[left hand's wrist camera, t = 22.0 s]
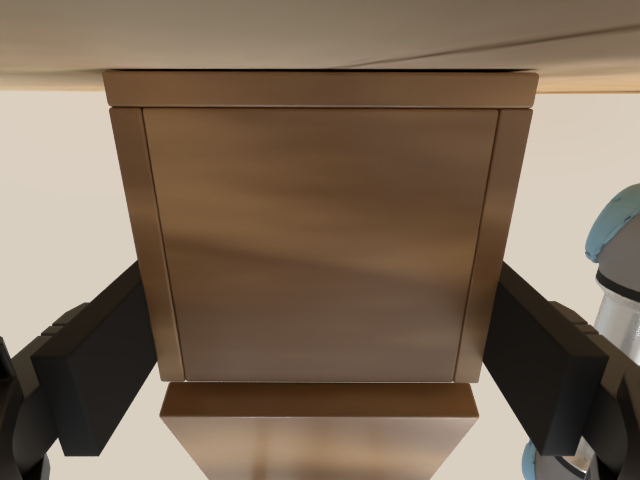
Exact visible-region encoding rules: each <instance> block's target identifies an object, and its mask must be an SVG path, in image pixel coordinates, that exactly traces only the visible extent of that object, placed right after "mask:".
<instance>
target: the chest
mask: <svg viewBox="0 0 640 480" xmlns="http://www.w3.org/2000/svg"><path fill="white" fill-rule="evenodd" d="M538 79H539V74H537V73H509V72H274V71H105V72H103V80H104V86H105V91H106V96H107V101H108V104H109V106H112V108H110V109H109V113H110V118H111V123H112V129H113V134H114V139H115V144H116V149H117V155H118V160H119V165H120V170H121V175H122V180H123V186H124V191H125V196H126V201H127V207H128V212H129V217H130V222H131V227H132V232H133V237H134V243H135V248H136V253H137V258H138V264H139V269H140V274H141V279H142V284H143V289H144V294H145V299H146V304H147V310H148V315H149V320H150V325H151V330H152V335H153V340H154V345H155V350H156V355H157V362H158V367H159V373H160V378H161V381H169V382H183V381H185V380H187V381H218V382H452V381H454V383H478V381H479V376H480V371H481V366H482V360H483V355H484V350H485V345H486V340H487V334H488V329H489V324H490V319H491V314H492V309H493V304H494V299H495V294H496V289H497V284H498V281H499V277H500V272H501V267H502V262H503V257H504V252H505V247H506V242H507V237H508V232H509V227H510V223H511V217H512V212H513V208H514V203H515V198H516V193H517V188H518V183H519V178H520V173H521V168H522V163H523V158H524V153H525V148H526V143H527V138H528V133H529V128H530V123H531V119H532V114H533V110H532V109H529V108H531V107H532V106H533V104H534V99H535V94H536V89H537V84H538Z"/></svg>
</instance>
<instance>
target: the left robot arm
mask: <svg viewBox="0 0 640 480" xmlns="http://www.w3.org/2000/svg"><path fill="white" fill-rule="evenodd" d="M482 361H483V363H484V364H485V366H486V368H487V369H488V371H489V373H490V374H491V376H492V377H493V379H494V381H495V382H496V384H497V386H498V387H499V389H500V391H501V392H502V394H503V396H504V397H505V399H506V400H507V402H508V404H509V405H510V407H511V409H512V410H513V412H514V413H515V415H516V417H517V418H518V420H519V422H520V423H521V425H522V426H523V428H524V430H525V431H526V433H527V435H528V436H529V438H530V440H531V441H532V443H533V444H534V446H535V448H536V449H537V451H538V453H539V454H540V456H575V454H576V451H577V448H578V445H579V442H580V440H581V437H582V436H583V438H584V439H585V440H586V442H587V443H588V444H589V445H590V447H591V448H592V449H593V451H594V454H593V456H592V459H591V462H590V464H589V467H588V470H587V472H586V475H585V478H584V480H640V366H639V365H637V364H636V363H635V362H634V361H633V360H631V359H630V358H629V357H628V356H627V355H626V354H624V353H623V352H622V351H621V350H620V349H618V348H617V347H616V346H615V345H614V344H612V343H611V342H610V341H609V340H608V339H607V338H605V337H604V336H603V335H599V332H598V331H597V330H596V329H595V328H594V327H592V326H591V325H588V323H587V322H586V321H585V320H584V319H583V318H582V317H581V316H579V315H578V314H577V313H576V312H575V311H573V310H571V309H569V308H567V307H565V306H563V305H562V304H560V303H558V302H556V301H547V300H546V299H545V298H544V297H543V296H542V295H541V294H539V293H538V292H537V291H536V290H535V289H534V288H533V287H532V286H531V285H529V284H528V283H527V282H526V281H525V280H524V279H523V278H522V277H521V276H519V275H518V274H517V273H516V272H515V271H514V270H513V269H512V268H511V267H509V266H508V265H507V264H506V263H505V262H504V261H503V262H502V267H501V272H500V277H499V281H498V284H497V289H496V294H495V299H494V304H493V309H492V314H491V319H490V324H489V329H488V334H487V340H486V345H485V350H484V355H483V360H482ZM156 362H157V355H156V350H155V345H154V340H153V335H152V330H151V325H150V320H149V315H148V310H147V304H146V299H145V294H144V289H143V284H142V279H141V274H140V269H139V264H138V260H137V261H136V262H135V263H134V264H132V265H131V266H130V267H129V268H128V269H127V270H126V271H125V272H123V273H122V274H121V275H120V276H119V277H118V278H117V279H116V280H115V281H113V282H112V283H111V284H110V285H109V286H108V287H107V288H106V289H105V290H103V291H102V292H101V293H100V294H99V295H98V296H97V297H96V298H95V299H93V300H92V301H91V302H90V303H83V304H81V305H79V306H77V307H75V308H73V309H71V310H69V311H67V312H66V313H64V314H63V315H62V316H61V317H60V318H59V319H57V320H56V321H55V322H54V323H53V324H52V326H49V327H48V328H47V329H46V330H44V331H43V332H42V333H41V336H37V337H36V338H35V339H34V340H33V341H32V342H30V343H29V344H28V345H27V346H26V347H25V348H23V349H22V350H21V351H20V352H19V353H18V354H16V355H15V356H14V357H13V358H12V359H11V358H10V356H9V353H8V351H7V348H6V345H5V343H4V340H3V338H2V337H1V336H0V480H49V474H50V464H49V459H48V456H47V454H46V452H47V451H48V450H49V448H50V447H51V446H52V444H53V443H54V442H55V440H56V439H57V438H59V441H60V444H61V447H62V450H63V452H64V455H65V456H99V455H100V453H101V452H102V450H103V449H104V447H105V445H106V444H107V442H108V441H109V439H110V437H111V436H112V434H113V432H114V431H115V429H116V427H117V426H118V424H119V423H120V421H121V419H122V418H123V416H124V414H125V413H126V411H127V410H128V408H129V406H130V405H131V403H132V401H133V400H134V398H135V396H136V395H137V393H138V392H139V390H140V388H141V387H142V385H143V383H144V382H145V380H146V378H147V377H148V375H149V374H150V372H151V370H152V369H153V367H154V365H155V364H156Z"/></svg>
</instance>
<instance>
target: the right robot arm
mask: <svg viewBox="0 0 640 480" xmlns="http://www.w3.org/2000/svg"><path fill="white" fill-rule="evenodd" d="M585 250H586V252H585V254H586V256H587V258H588V259H590V260H591V261H592V262H594V263H599V268H598V271H597V274H596V278H595V279H596V282H597V284H598V285H599V286H600V287H601V289H602V290H603V291H604V293H605V294H604V297H603V300H602V303H601V306H600V309H599V312H598V315H597V318H596V321H595V324H594V328H595V329H596V330H597V331H598V332H599V335H603V336H604V337H605V338H607V339H608V340H609V341H610V342H611V343H612V344H614V345H615V346H616V347H617V348H618V349H620V350H621V351H622V352H623V353H624V354H626V355H627V356H628V357H629V358H630V359H631V360H633V361H634V362H635V363H636V364H637V365H639V366H640V183H639V184H635V185H632V186H629V187H627V188H625V189H624V190H622V191H621V192H619V193H618V194H617V195H616V196H615V197H614V198H613V199H612V200H611V201H610V202H609V203H608V204H607V205H606V207H605V208H604V209H603V210H602V212H601V213H600V215H599V216H598V218H597V219H596V221H595V223H594V224H593V226H592V228H591V230H590V233H589V235H588V238H587V241H586V245H585ZM593 454H594V451H593V449H592V448H591V447H590V445H589V444H588V443H587V442H586V440H585V439H584V438H583V436H582V437H581V440H580V442H579V445H578V448H577V451H576V454H575V456H540V454H539V453H538V451H537V449H536V448H535V446H534V444H533V443H532V441H531V440H530V441H529V443H527V444H526V446H525V449H524V453H523V457H522V472H523V475H524V478H525V480H584V478H585V475H586V472H587V470H588V467H589V464H590V462H591V459H592V456H593Z"/></svg>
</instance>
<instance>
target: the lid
mask: <svg viewBox="0 0 640 480" xmlns="http://www.w3.org/2000/svg"><path fill="white" fill-rule="evenodd" d="M160 418H161V419H162V420H163V422H164V423H165V424H166V425H167V427H168V428H169V429H170V431H171V432H172V433H173V434H174V436H175V437H176V438H177V439H178V441H179V442H180V443H181V445H182V446H183V447H184V448H185V450H186V451H187V452H188V453H189V455H190V456H191V457H192V459H193V460H194V461H195V462H196V464H197V465H198V466H199V468H200V469H201V470H202V471H203V473H204V474H205V475H206V476H207V478H208V479H209V480H430V478H431V477H432V476H433V475H434V473H435V472H436V471H437V470H438V468H439V467H440V466H441V465H442V463H443V462H444V461H445V460H446V458H447V457H448V456H449V455H450V453H451V452H452V451H453V450H454V448H455V447H456V446H457V445H458V443H459V442H460V441H461V440H462V438H463V437H464V436H465V435H466V433H467V432H468V431H469V430H470V428H471V427H472V426H473V425H474V423H475V422H476V421H477V420H478V418H479V413H478V410H477V406H476V403H475V400H474V396H473V393H472V390H471V386H470V384H469V383H340V382H170V383H169V385H168V388H167V391H166V395H165V398H164V401H163V404H162V408H161V411H160Z"/></svg>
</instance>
